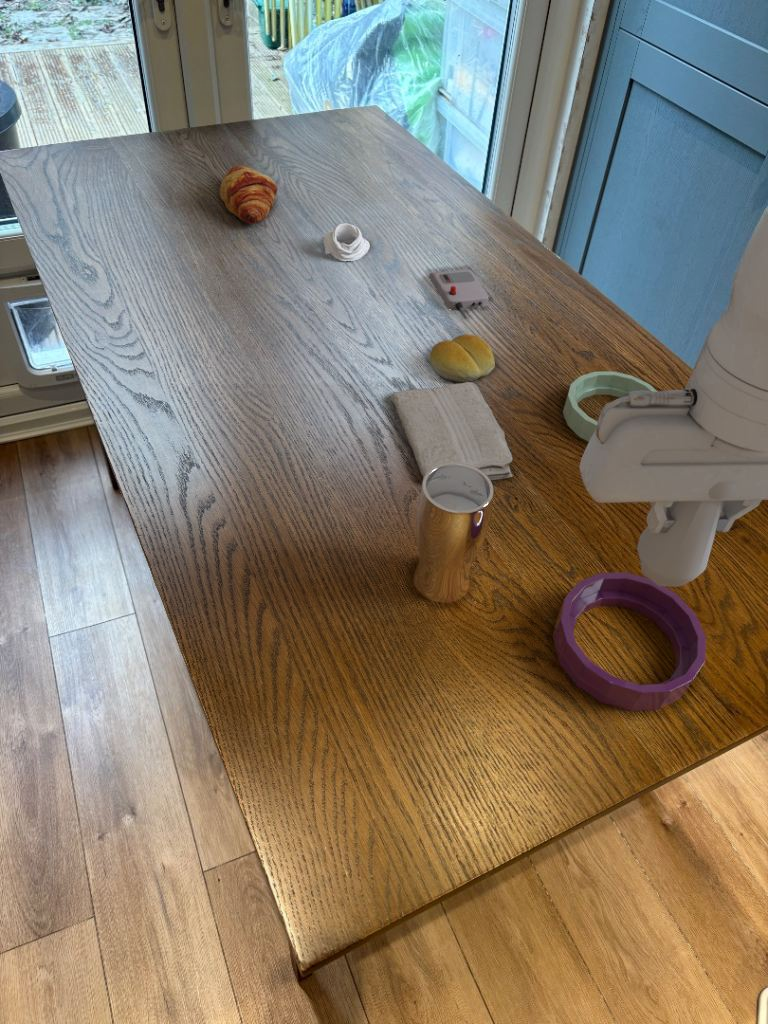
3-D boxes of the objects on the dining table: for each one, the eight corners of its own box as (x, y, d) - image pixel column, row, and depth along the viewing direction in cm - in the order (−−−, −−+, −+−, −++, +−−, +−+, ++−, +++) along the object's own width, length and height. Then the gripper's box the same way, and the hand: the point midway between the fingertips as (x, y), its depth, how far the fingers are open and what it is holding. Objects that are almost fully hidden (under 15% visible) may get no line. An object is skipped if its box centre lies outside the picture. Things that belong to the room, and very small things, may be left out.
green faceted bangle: (640, 394, 104) (649, 371, 101) (670, 456, 96) (681, 432, 93) (552, 395, 103) (558, 371, 100) (574, 457, 95) (582, 433, 92)
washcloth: (424, 497, 88) (427, 479, 86) (385, 403, 100) (387, 384, 98) (518, 483, 91) (523, 464, 89) (469, 392, 102) (472, 374, 100)
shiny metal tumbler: (420, 553, 82) (434, 452, 71) (480, 573, 81) (504, 473, 70) (398, 600, 78) (409, 500, 67) (461, 622, 76) (484, 523, 65)
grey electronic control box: (463, 268, 125) (465, 252, 123) (497, 320, 115) (500, 303, 113) (425, 272, 124) (427, 255, 122) (456, 324, 114) (459, 307, 112)
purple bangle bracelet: (662, 596, 80) (677, 570, 77) (709, 713, 71) (728, 688, 68) (538, 600, 79) (547, 574, 76) (570, 719, 70) (582, 694, 66)
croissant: (229, 198, 146) (205, 162, 140) (273, 171, 144) (251, 133, 138) (241, 249, 131) (215, 211, 126) (291, 220, 130) (267, 180, 124)
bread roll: (418, 359, 107) (421, 335, 104) (470, 344, 110) (474, 320, 107) (450, 392, 102) (453, 367, 99) (503, 374, 106) (508, 351, 103)
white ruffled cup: (364, 246, 130) (366, 218, 127) (374, 262, 126) (376, 233, 122) (319, 247, 128) (320, 218, 125) (327, 263, 124) (329, 233, 120)
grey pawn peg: (705, 597, 63) (772, 489, 54) (639, 595, 63) (693, 486, 54) (686, 544, 67) (744, 435, 58) (623, 542, 67) (671, 432, 57)
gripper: (622, 422, 48) (571, 560, 58) (920, 420, 50) (821, 553, 60) (596, 363, 52) (553, 501, 62) (871, 363, 54) (786, 496, 64)
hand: (686, 526), depth 61 cm, fingers closed on grey pawn peg, 3 cm apart
